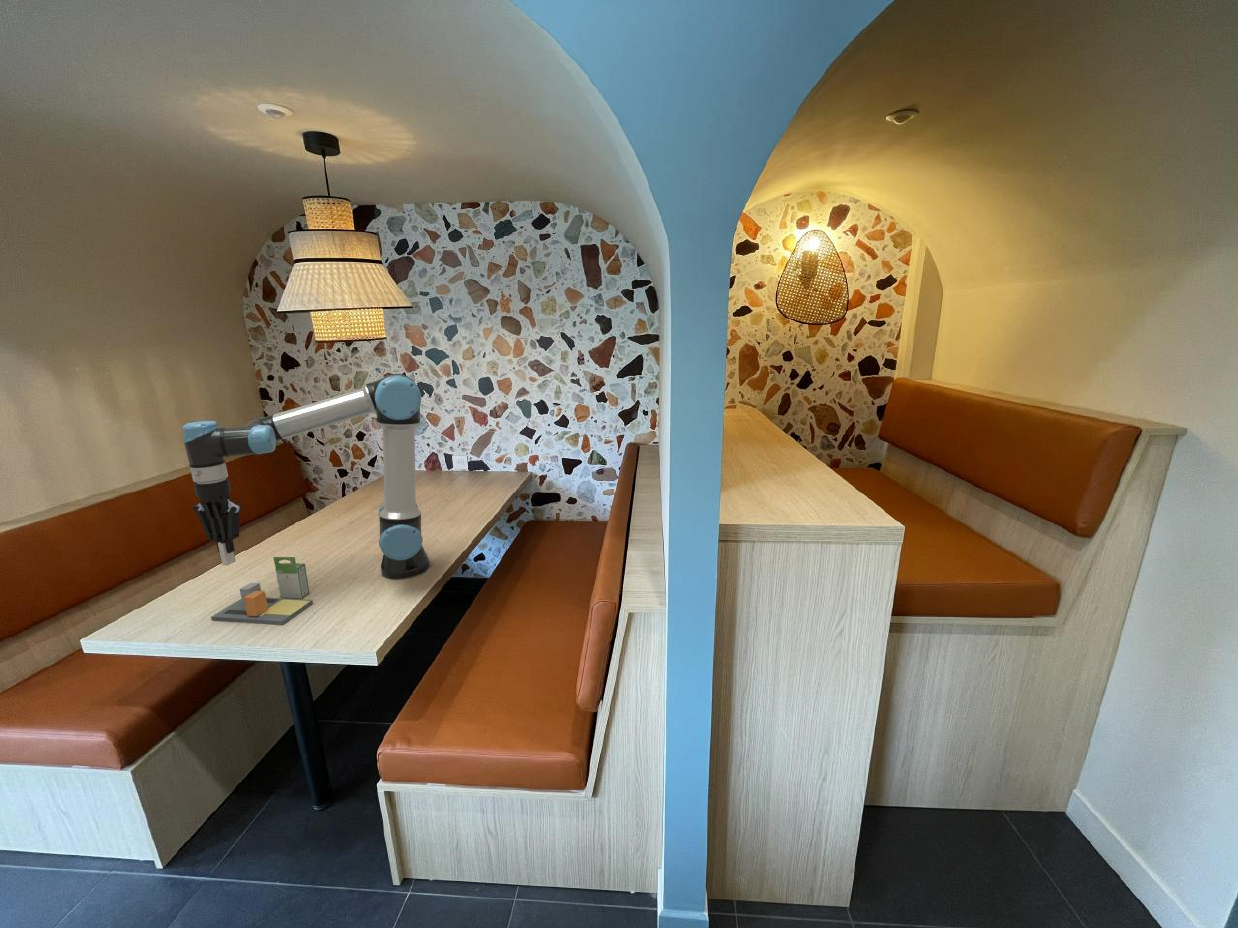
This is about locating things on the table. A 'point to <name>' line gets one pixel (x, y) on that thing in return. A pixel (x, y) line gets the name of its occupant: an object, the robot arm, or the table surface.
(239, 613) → the panel
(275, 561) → the ink box
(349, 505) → the table surface
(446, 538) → the table surface
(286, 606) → the pad
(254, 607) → the lever
